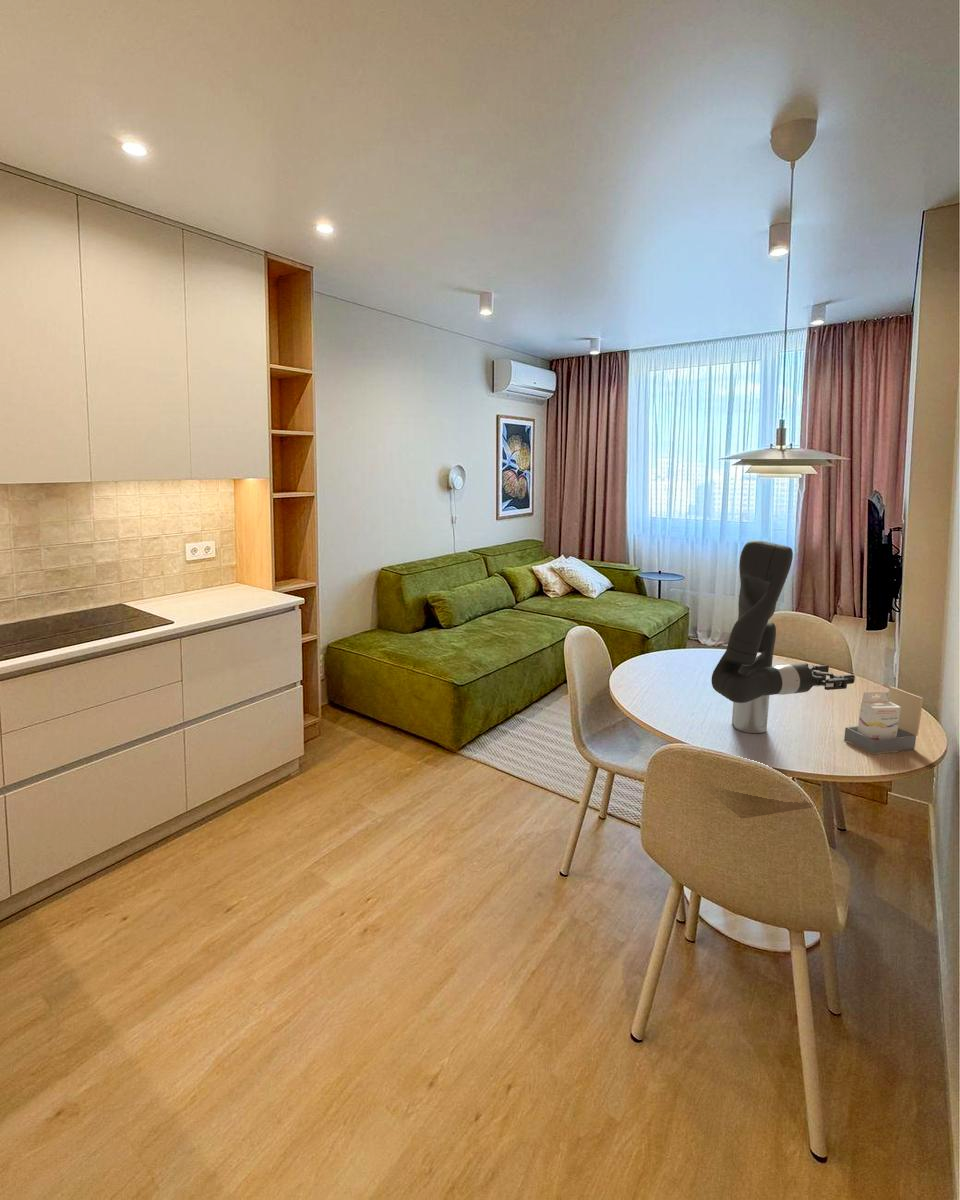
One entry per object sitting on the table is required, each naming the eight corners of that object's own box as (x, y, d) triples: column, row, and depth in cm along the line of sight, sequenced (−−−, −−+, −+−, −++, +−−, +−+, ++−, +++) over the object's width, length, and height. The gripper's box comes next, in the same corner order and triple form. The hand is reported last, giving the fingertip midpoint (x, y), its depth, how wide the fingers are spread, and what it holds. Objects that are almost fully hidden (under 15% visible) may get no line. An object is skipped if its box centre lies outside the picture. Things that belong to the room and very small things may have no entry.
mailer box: (844, 740, 180) (849, 690, 177) (885, 735, 184) (891, 686, 181) (873, 755, 171) (880, 702, 168) (916, 749, 174) (923, 697, 171)
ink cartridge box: (867, 748, 174) (874, 697, 171) (855, 740, 179) (861, 691, 176) (896, 746, 175) (903, 696, 172) (883, 739, 180) (889, 690, 177)
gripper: (810, 673, 152) (864, 667, 156) (769, 657, 166) (820, 652, 170) (807, 702, 154) (861, 696, 158) (767, 684, 167) (818, 679, 171)
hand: (840, 673), depth 164 cm, fingers open, 8 cm apart
